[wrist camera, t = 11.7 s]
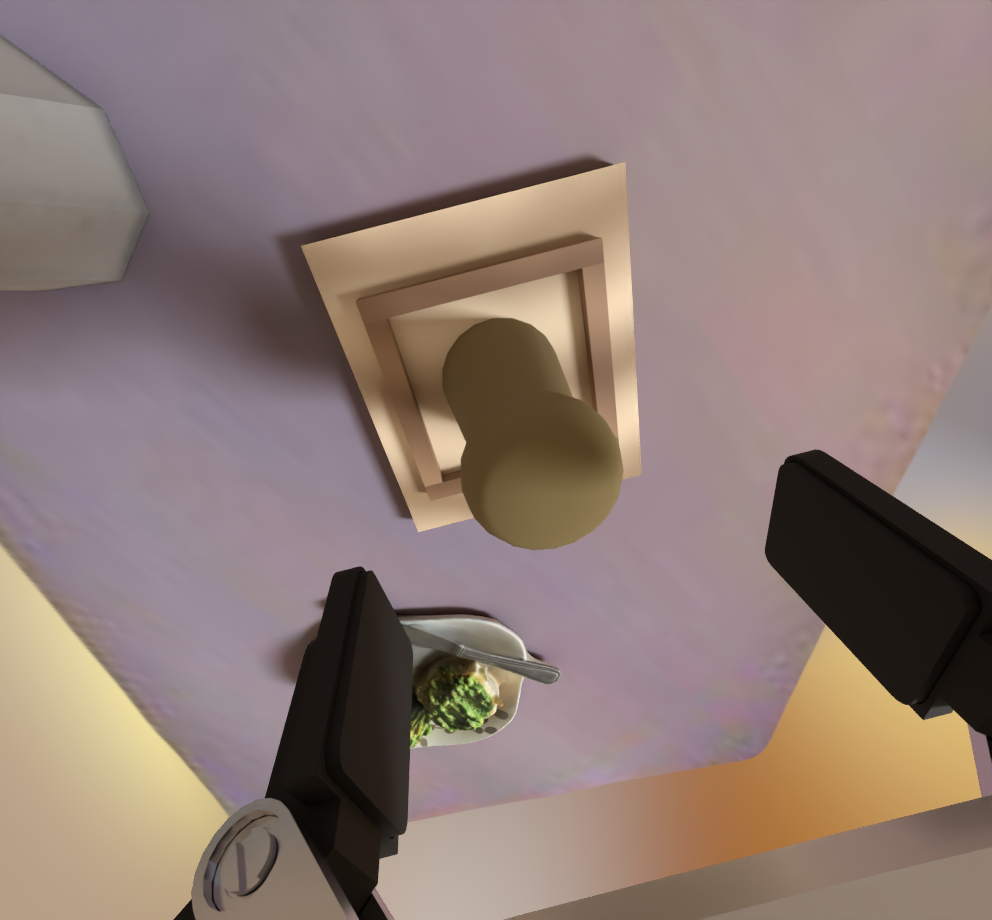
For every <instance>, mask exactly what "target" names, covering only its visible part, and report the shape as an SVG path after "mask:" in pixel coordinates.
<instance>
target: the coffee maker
mask: <svg viewBox="0 0 992 920" xmlns="http://www.w3.org/2000/svg"><path fill="white" fill-rule="evenodd" d="M148 214H149V210H148V208H147V206H146V203H145V201H144V199H143V197H142V194H141V192H140V190H139V188H138V186H137V183H136V181H135V179H134V177H133V174H132V172H131V170H130V168H129V165H128V163H127V161H126V159H125V157H124V154H123V152H122V150H121V148H120V145H119V143H118V141H117V139H116V136H115V134H114V132H113V130H112V128H111V125H110V123H109V121H108V119H107V116H106V114H105V112H104V110H103V109H102V108H101V107H100V106H98V105H97V104H95V103H94V102H93V101H91V100H90V99H88V98H87V97H86V96H84V95H83V94H82V93H80V92H79V91H77V90H76V89H75V88H73V87H72V86H70V85H69V84H68V83H66V82H65V81H64V80H62V79H61V78H59V77H58V76H57V75H55V74H54V73H52V72H51V71H50V70H48V69H47V68H46V67H44V66H43V65H41V64H40V63H39V62H37V61H36V60H34V59H33V58H32V57H30V56H29V55H28V54H26V53H25V52H23V51H22V50H21V49H19V48H18V47H16V46H15V45H14V44H12V43H11V42H10V41H8V40H7V39H5V38H4V37H3V36H1V35H0V291H45V290H53V289H61V288H69V287H76V286H84V285H92V284H100V283H108V282H116V281H122V278H123V276H124V273H125V271H126V268H127V266H128V264H129V261H130V259H131V256H132V254H133V251H134V249H135V246H136V244H137V241H138V239H139V237H140V234H141V232H142V229H143V227H144V224H145V222H146V219H147V217H148Z"/></svg>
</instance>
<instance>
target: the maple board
mask: <svg viewBox="0 0 992 920" xmlns="http://www.w3.org/2000/svg"><path fill="white" fill-rule="evenodd" d="M301 248H302V250H303V252H304V255H305V257H306V260H307V262H308V265H309V267H310V269H311V272H312V274H313V277H314V279H315V282H316V284H317V286H318V289H319V291H320V294H321V296H322V299H323V301H324V304H325V306H326V308H327V311H328V313H329V316H330V318H331V321H332V323H333V325H334V328H335V330H336V333H337V335H338V338H339V340H340V342H341V345H342V347H343V350H344V352H345V355H346V357H347V359H348V362H349V364H350V367H351V369H352V372H353V374H354V376H355V379H356V381H357V384H358V386H359V389H360V391H361V394H362V396H363V398H364V401H365V403H366V406H367V408H368V411H369V413H370V415H371V418H372V420H373V423H374V425H375V428H376V430H377V432H378V435H379V437H380V440H381V442H382V445H383V447H384V449H385V452H386V454H387V457H388V459H389V462H390V464H391V467H392V469H393V471H394V474H395V476H396V479H397V481H398V484H399V486H400V488H401V491H402V493H403V496H404V498H405V501H406V503H407V505H408V508H409V510H410V513H411V515H412V518H413V520H414V522H415V525H416V527H417V530H418V532H420V531H424V530H428V529H432V528H436V527H440V526H444V525H448V524H452V523H455V522H459V521H463V520H467V519H471V518H474V516H473V514H472V513H471V511H470V509H469V507H468V504H467V502H466V499H465V497H464V495H463V492H462V487H461V457H462V454H463V451H464V448H465V445H466V441H465V439H464V437H463V434H462V432H461V430H460V428H459V426H458V423H457V421H456V419H455V417H454V415H453V412H452V410H451V408H450V406H449V403H448V401H447V398H446V396H445V393H444V390H443V380H442V369H443V366H444V363H445V359H446V356H447V352H448V351H449V350H450V348H451V347H452V345H453V344H454V342H455V341H456V340H457V338H458V337H459V336H460V335H461V334H463V333H464V332H465V331H467V330H468V329H469V328H471V327H472V326H473V325H475V324H478V323H481V322H484V321H487V320H490V319H493V318H514V319H517V320H520V321H523V322H526V323H528V324H531V325H532V326H534V327H535V328H536V329H538V330H539V331H540V332H541V333H543V334H544V335H545V336H546V337H547V339H548V341H549V342H550V344H551V345H552V347H553V349H554V350H555V352H556V355H557V357H558V360H559V362H560V365H561V368H562V370H563V373H564V375H565V378H566V381H567V383H568V386H569V388H570V391H571V394H572V396H573V398H576V399H579V400H581V401H583V402H584V403H585V404H587V405H588V406H589V407H591V408H592V409H593V410H595V411H596V412H597V413H599V414H600V415H601V416H602V417H603V419H604V420H605V421H606V422H607V424H608V425H609V427H610V429H611V430H612V432H613V434H614V435H615V437H616V438H617V440H618V444H619V447H620V452H621V458H622V464H623V470H624V472H623V477H622V480H623V479H627V478H630V477H634V476H638V475H641V456H640V437H639V417H638V398H637V379H636V360H635V341H634V321H633V302H632V283H631V264H630V245H629V225H628V206H627V187H626V168H625V162H624V163H620V164H616V165H612V166H608V167H604V168H601V169H597V170H593V171H589V172H585V173H581V174H577V175H573V176H570V177H566V178H562V179H558V180H554V181H550V182H546V183H542V184H539V185H535V186H531V187H527V188H523V189H519V190H515V191H512V192H508V193H504V194H500V195H496V196H492V197H488V198H484V199H481V200H477V201H473V202H469V203H465V204H461V205H457V206H453V207H450V208H446V209H442V210H438V211H434V212H430V213H426V214H422V215H419V216H415V217H411V218H407V219H403V220H399V221H395V222H392V223H388V224H384V225H380V226H376V227H372V228H368V229H364V230H361V231H357V232H353V233H349V234H345V235H341V236H337V237H333V238H330V239H326V240H322V241H318V242H314V243H310V244H306V245H302V246H301Z"/></svg>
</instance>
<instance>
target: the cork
mask: <svg viewBox="0 0 992 920" xmlns="http://www.w3.org/2000/svg"><path fill="white" fill-rule="evenodd" d="M442 380H443V390H444V393H445V396H446V398H447V401H448V403H449V406H450V408H451V410H452V412H453V415H454V417H455V419H456V421H457V423H458V426H459V428H460V430H461V432H462V434H463V437H464V439H465V441H466V445H465V448H464V451H463V454H462V457H461V487H462V492H463V495H464V497H465V499H466V502H467V504H468V507H469V509H470V511H471V513H472V514H473V516H474V518H475V519H476V520H477V521H478V522H479V523H480V524H481V525H482V526H483V528H484V529H485V530H486V531H487V532H488V533H489V534H491V535H493V536H495V537H497V538H499V539H501V540H503V541H505V542H507V543H509V544H511V545H512V546H515V547H521V548H526V549H531V550H540V549H554V548H557V547H561V546H564V545H567V544H570V543H573V542H576V541H577V540H579V539H581V538H582V537H584V536H586V535H587V534H589V533H591V532H592V531H593V530H594V529H595V528H596V527H597V526H598V525H599V524H600V523H601V522H602V521H603V520H604V519H605V518H606V517H607V516H608V514H609V513H610V511H611V509H612V507H613V506H614V504H615V502H616V500H617V498H618V495H619V492H620V487H621V482H622V477H623V472H624V470H623V464H622V458H621V452H620V447H619V444H618V440H617V438H616V437H615V435H614V434H613V432H612V430H611V429H610V427H609V425H608V424H607V422H606V421H605V420H604V419H603V417H602V416H601V415H600V414H599V413H597V412H596V411H595V410H593V409H592V408H591V407H589V406H588V405H587V404H585V403H584V402H583V401H581V400H579V399H576V398H573V396H572V394H571V391H570V388H569V386H568V383H567V381H566V378H565V375H564V373H563V370H562V368H561V365H560V362H559V360H558V357H557V355H556V352H555V350H554V349H553V347H552V345H551V344H550V342H549V341H548V339H547V337H546V336H545V335H544V334H543V333H541V332H540V331H539V330H538V329H536V328H535V327H534V326H532V325H531V324H528V323H526V322H523V321H520V320H517V319H514V318H493V319H490V320H487V321H484V322H481V323H478V324H475V325H473V326H472V327H471V328H469V329H468V330H467V331H465V332H464V333H463V334H461V335H460V336H459V337H458V338H457V340H456V341H455V342H454V344H453V345H452V347H451V348H450V350H449V351H448V352H447V356H446V359H445V363H444V366H443V369H442Z"/></svg>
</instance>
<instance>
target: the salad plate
mask: <svg viewBox="0 0 992 920" xmlns="http://www.w3.org/2000/svg"><path fill="white" fill-rule="evenodd" d="M397 617H398V619H399V621H400V622H401V624H402V626H403V628H404V630H405V632H406V634H407V636H408V637H409V639H410V642H411V645H412V649H413V678H412V706H411V734H410V749H412V748H418V747H428V746H446V745H455V744H463V743H472V742H476V741H480V740H483V739H485V738H488V737H490V736H492V735H493V734H495V733H497V732H498V731H500V730H501V729H502V728H504V727H505V726H506V725H507V724H508V723H510V722H511V720H512V719H513V717H514V715H515V713H516V711H517V707H518V702H519V697H520V694H521V687H522V683H523V681H524V679H525V678H529V679H532V680H535V681H538V682H541V683H545V684H551V683H554V682H556V681H557V680H558V679H559V677H560V675H561V674H560V670H559V669H558V668H557V667H556V666H554V665H551V664H549V663H545V662H542V661H540V660H537V659H535V658H534V657H532V656H531V655H530V654H529V653H528V652H527V649H526V648H525V645H524V642H523V641H522V639H521V638H520V637H519V636H518V635H517V634H515V633H514V632H513V631H512V630H510V629H509V628H507V627H506V626H504V625H503V624H501V623H500V622H499V621H498V620H496V619H493V618H488V617H482V616H475V615H464V614H457V615H397Z"/></svg>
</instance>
